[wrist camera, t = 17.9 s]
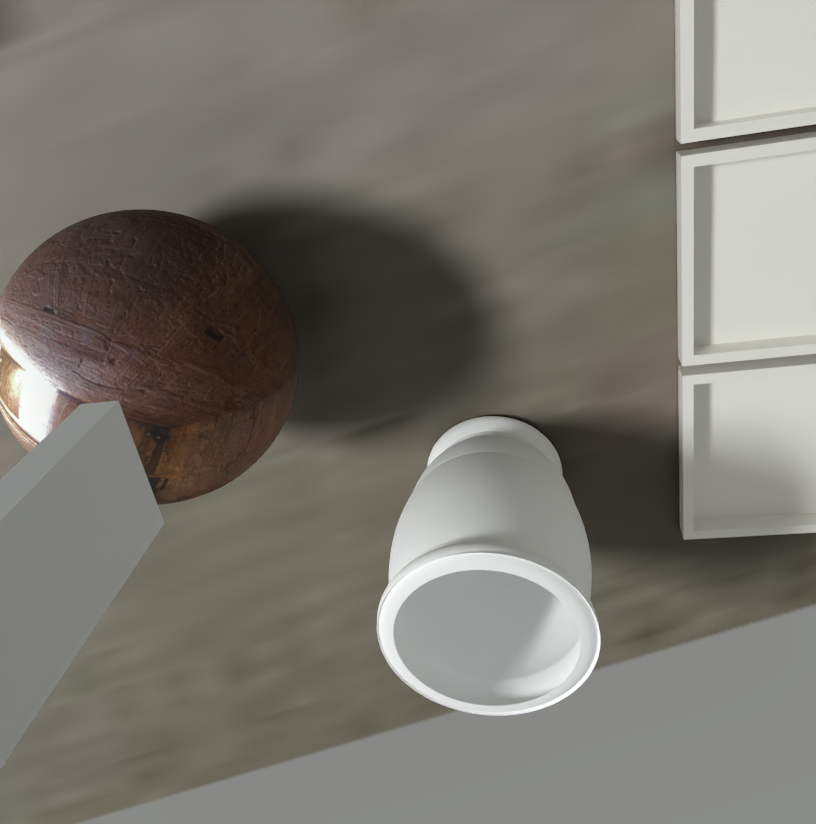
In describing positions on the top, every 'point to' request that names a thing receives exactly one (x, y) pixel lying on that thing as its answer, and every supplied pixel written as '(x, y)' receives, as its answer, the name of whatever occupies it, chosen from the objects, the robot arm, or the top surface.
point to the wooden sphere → (151, 344)
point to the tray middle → (746, 250)
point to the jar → (490, 576)
